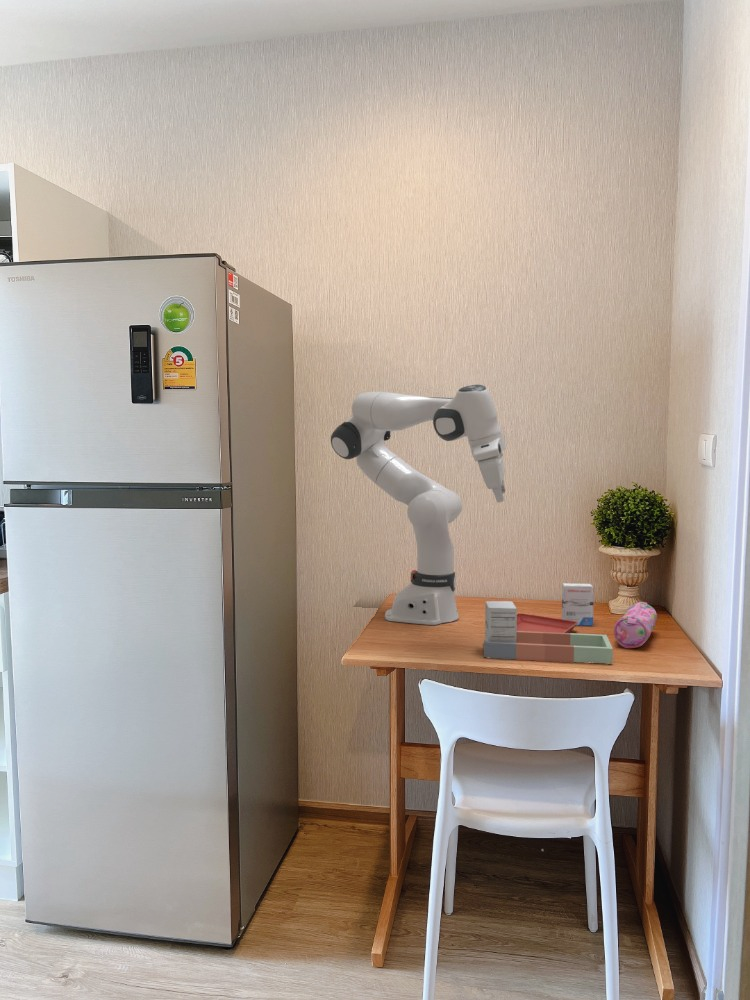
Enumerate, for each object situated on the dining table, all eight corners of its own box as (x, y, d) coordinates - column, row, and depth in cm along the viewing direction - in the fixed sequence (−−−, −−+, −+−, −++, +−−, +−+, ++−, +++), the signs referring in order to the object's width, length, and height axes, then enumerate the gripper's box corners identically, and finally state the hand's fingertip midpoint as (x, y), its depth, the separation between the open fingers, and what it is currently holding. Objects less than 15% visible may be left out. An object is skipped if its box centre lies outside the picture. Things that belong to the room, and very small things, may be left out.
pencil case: (625, 628, 216) (626, 597, 215) (658, 632, 212) (660, 601, 211) (610, 647, 198) (611, 614, 197) (646, 652, 193) (648, 618, 192)
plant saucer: (578, 632, 213) (578, 620, 213) (557, 648, 198) (558, 636, 198) (518, 623, 223) (518, 612, 223) (494, 638, 208) (494, 626, 207)
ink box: (590, 621, 223) (591, 582, 222) (593, 626, 218) (594, 586, 217) (561, 621, 224) (561, 582, 223) (563, 625, 219) (564, 586, 218)
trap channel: (483, 658, 189) (484, 642, 188) (485, 643, 201) (485, 629, 201) (612, 664, 183) (612, 648, 183) (605, 649, 195) (606, 634, 195)
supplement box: (484, 647, 198) (484, 600, 197) (512, 647, 198) (513, 600, 196) (487, 656, 191) (488, 607, 189) (516, 656, 190) (517, 607, 189)
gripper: (479, 443, 203) (492, 491, 206) (472, 456, 184) (487, 509, 186) (501, 437, 202) (514, 485, 204) (497, 450, 182) (512, 503, 185)
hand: (501, 497), depth 195 cm, fingers open, 8 cm apart
